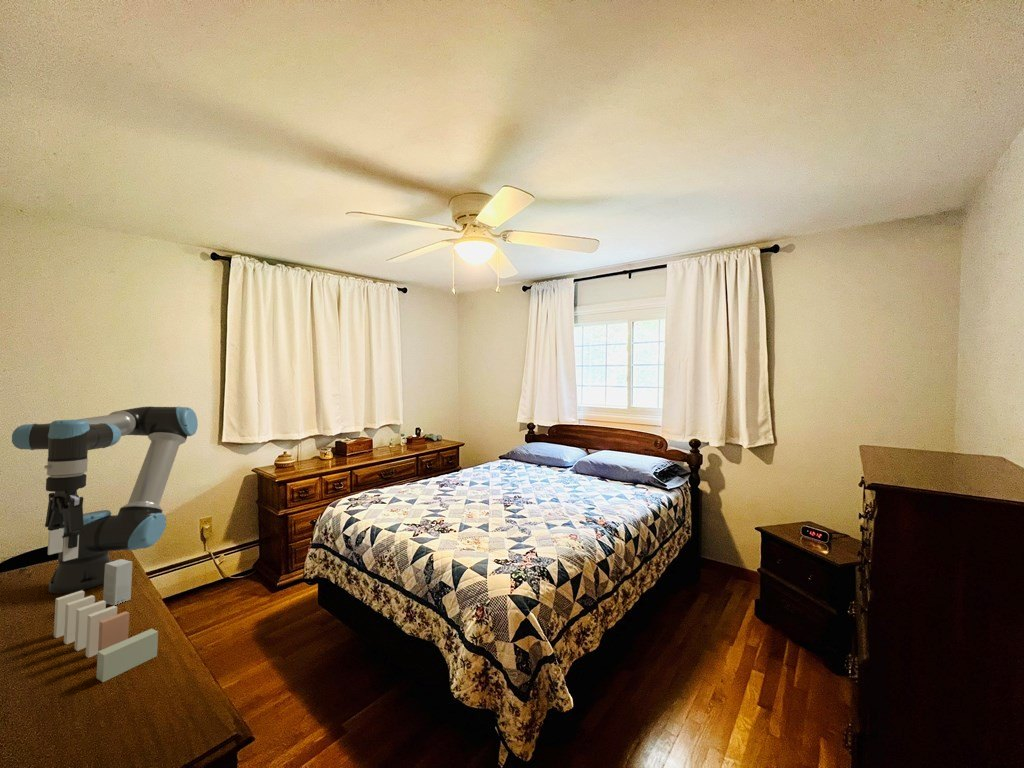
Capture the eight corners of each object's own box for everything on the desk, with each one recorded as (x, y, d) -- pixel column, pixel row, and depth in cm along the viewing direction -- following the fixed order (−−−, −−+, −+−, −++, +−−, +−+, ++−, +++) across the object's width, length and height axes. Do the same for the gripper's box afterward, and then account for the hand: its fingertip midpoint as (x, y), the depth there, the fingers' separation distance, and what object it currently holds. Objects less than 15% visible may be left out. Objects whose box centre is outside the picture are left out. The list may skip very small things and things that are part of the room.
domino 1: (53, 636, 105) (55, 598, 105) (79, 626, 109) (81, 590, 110) (56, 638, 104) (58, 600, 105) (82, 628, 109) (84, 591, 109)
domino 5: (127, 652, 99) (129, 612, 99) (100, 665, 95) (102, 622, 95) (124, 651, 100) (126, 611, 100) (97, 663, 95) (99, 621, 95)
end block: (96, 678, 90) (97, 651, 90) (150, 652, 99) (151, 628, 100) (102, 682, 89) (104, 655, 89) (157, 656, 98) (158, 631, 98)
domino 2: (63, 642, 102) (65, 603, 103) (90, 632, 107) (92, 595, 107) (66, 644, 102) (68, 605, 102) (93, 633, 106) (95, 596, 107)
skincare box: (131, 599, 124) (133, 561, 124) (114, 606, 120) (116, 566, 120) (119, 596, 126) (121, 558, 126) (102, 602, 122) (104, 563, 122)
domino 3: (74, 649, 100) (76, 609, 100) (101, 638, 105) (103, 600, 105) (77, 651, 99) (79, 610, 100) (104, 639, 104) (105, 601, 104)
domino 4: (85, 656, 98) (87, 615, 98) (112, 644, 102) (114, 605, 102) (88, 657, 97) (90, 616, 97) (115, 646, 102) (117, 607, 102)
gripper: (30, 473, 111) (26, 553, 111) (65, 481, 103) (60, 569, 102) (68, 469, 118) (64, 544, 118) (103, 476, 110) (99, 558, 109)
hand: (62, 556), depth 110 cm, fingers open, 9 cm apart
